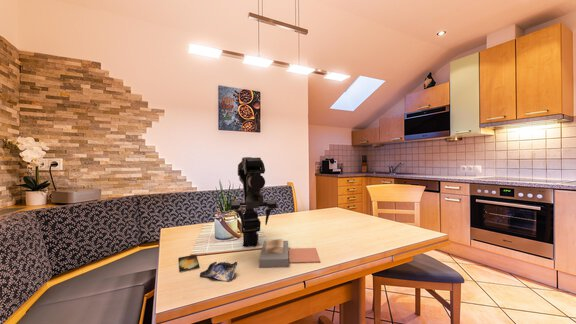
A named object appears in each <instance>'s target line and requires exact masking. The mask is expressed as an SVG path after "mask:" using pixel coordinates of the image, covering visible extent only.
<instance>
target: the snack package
mask: <svg viewBox="0 0 576 324" xmlns="http://www.w3.org/2000/svg"><path fill="white" fill-rule="evenodd" d="M237 267H238V261H235V262H233V263H230V262H228V261H227V260H226V261H223V262H220V261H219V262H217V261H214V262H211V264H209V266H208V267H207V269H205V270H204V271H200V273H199V277H206V278H214V279H217V280H218V281H224V280H223V279H222V278H221V277H220V276H223V277H224V279H225V280H226V281H227V282H231V281H232V280H233V278H234V276H235V274H236V270H237ZM218 275H220V276H218Z"/></svg>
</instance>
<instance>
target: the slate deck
mask: <svg viewBox="0 0 576 324" xmlns="http://www.w3.org/2000/svg"><path fill="white" fill-rule="evenodd" d="M283 242H284V247H283V253H275V254H266V248H265V247H266V243H267V240H264V241H263V242H262V243H263V244H262V246H261V251H260V255H259V258H258V268H259V269H261V268H263V269H265V268H266V269H268V268H289V267H290V265H289V264H290V263H289V240H283Z"/></svg>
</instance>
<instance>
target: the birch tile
mask: <svg viewBox="0 0 576 324" xmlns="http://www.w3.org/2000/svg"><path fill="white" fill-rule="evenodd" d="M266 241H267V243H266V247H265V248H266V254H275V253H283V247H284V242H283V241H284V239H283V238H281V239H267V240H266Z"/></svg>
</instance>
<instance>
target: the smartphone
mask: <svg viewBox="0 0 576 324" xmlns="http://www.w3.org/2000/svg"><path fill="white" fill-rule="evenodd" d="M177 260H178V273H180V274H182V273H186V272H191V271H196V270H200V268H201V267H200V263H199V259H198V256H197V254H192V255H191V254H190V255H186V256H180V257H178V259H177Z"/></svg>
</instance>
